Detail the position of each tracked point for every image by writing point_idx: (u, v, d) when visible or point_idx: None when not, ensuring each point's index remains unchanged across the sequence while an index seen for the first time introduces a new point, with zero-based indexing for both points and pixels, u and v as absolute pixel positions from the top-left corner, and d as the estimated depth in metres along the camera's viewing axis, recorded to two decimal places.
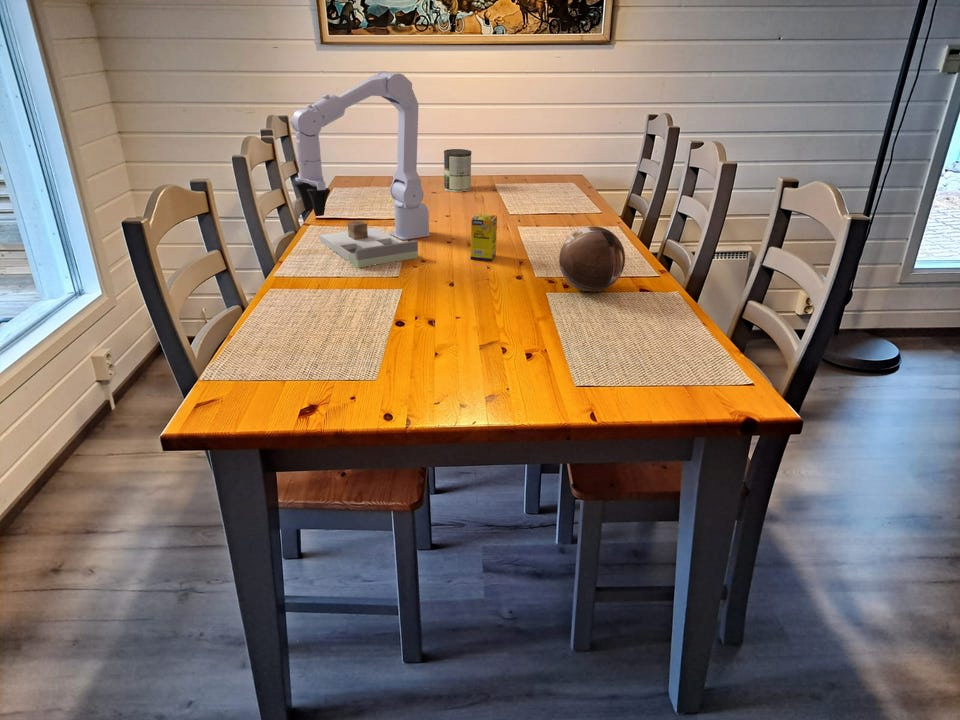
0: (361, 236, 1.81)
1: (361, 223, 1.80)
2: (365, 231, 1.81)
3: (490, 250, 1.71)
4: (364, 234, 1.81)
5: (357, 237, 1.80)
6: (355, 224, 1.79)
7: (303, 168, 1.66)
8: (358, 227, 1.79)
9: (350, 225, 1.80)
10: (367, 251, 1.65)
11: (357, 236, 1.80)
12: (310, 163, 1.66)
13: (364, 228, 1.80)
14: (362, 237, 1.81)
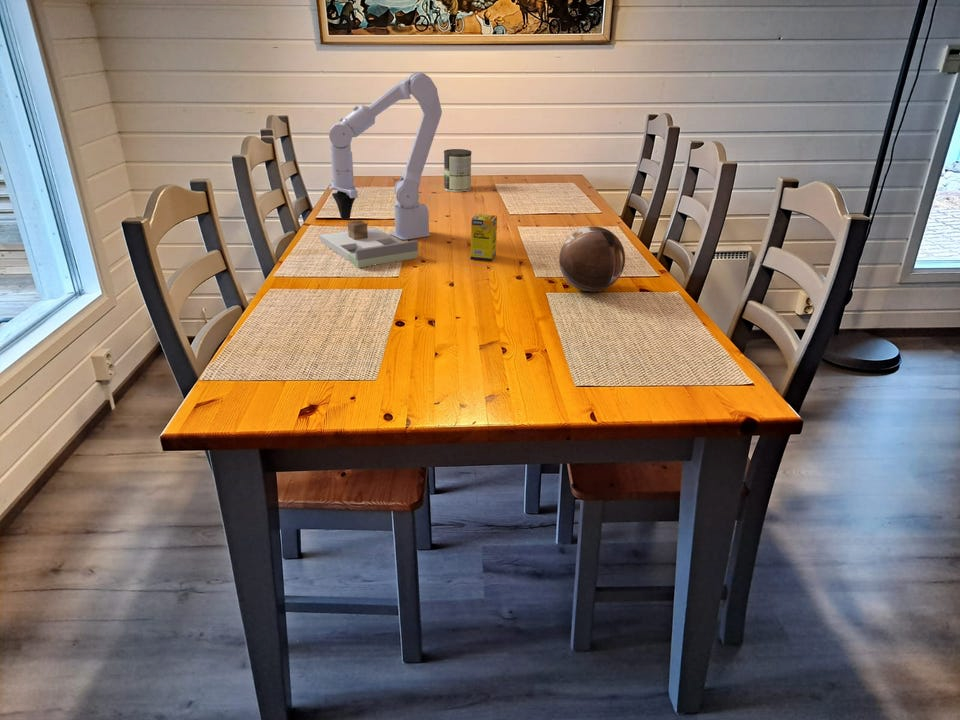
0: (361, 236, 1.81)
1: (361, 223, 1.80)
2: (365, 231, 1.81)
3: (490, 250, 1.71)
4: (364, 234, 1.81)
5: (357, 237, 1.80)
6: (355, 224, 1.79)
7: (337, 177, 1.79)
8: (358, 227, 1.79)
9: (350, 225, 1.80)
10: (367, 251, 1.65)
11: (357, 236, 1.80)
12: (343, 173, 1.78)
13: (364, 228, 1.80)
14: (362, 237, 1.81)
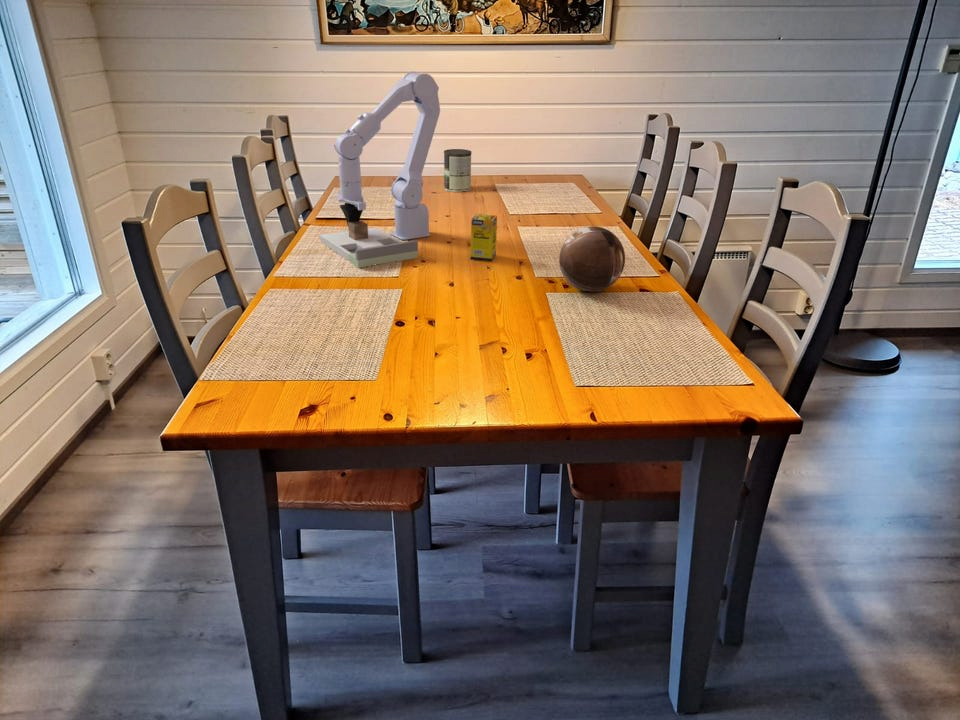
0: (361, 236, 1.80)
1: (362, 223, 1.80)
2: (365, 231, 1.80)
3: (490, 250, 1.71)
4: (364, 234, 1.81)
5: (357, 237, 1.80)
6: (355, 224, 1.79)
7: (345, 189, 1.76)
8: (358, 227, 1.79)
9: (350, 225, 1.80)
10: (367, 251, 1.65)
11: (357, 236, 1.80)
12: (351, 184, 1.76)
13: (364, 228, 1.80)
14: (362, 237, 1.81)
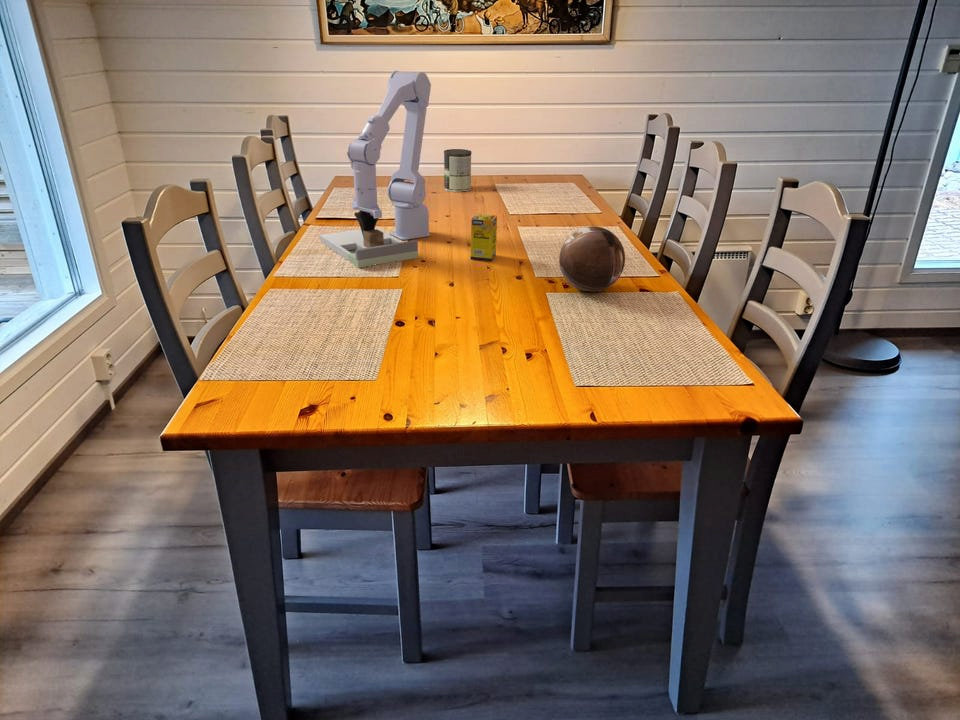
0: None
1: (377, 232, 1.73)
2: (381, 240, 1.73)
3: (490, 250, 1.71)
4: (380, 243, 1.73)
5: (373, 246, 1.72)
6: (371, 233, 1.72)
7: (360, 196, 1.69)
8: (374, 236, 1.72)
9: (366, 234, 1.72)
10: (367, 251, 1.65)
11: (373, 245, 1.72)
12: (367, 192, 1.68)
13: (380, 237, 1.73)
14: None
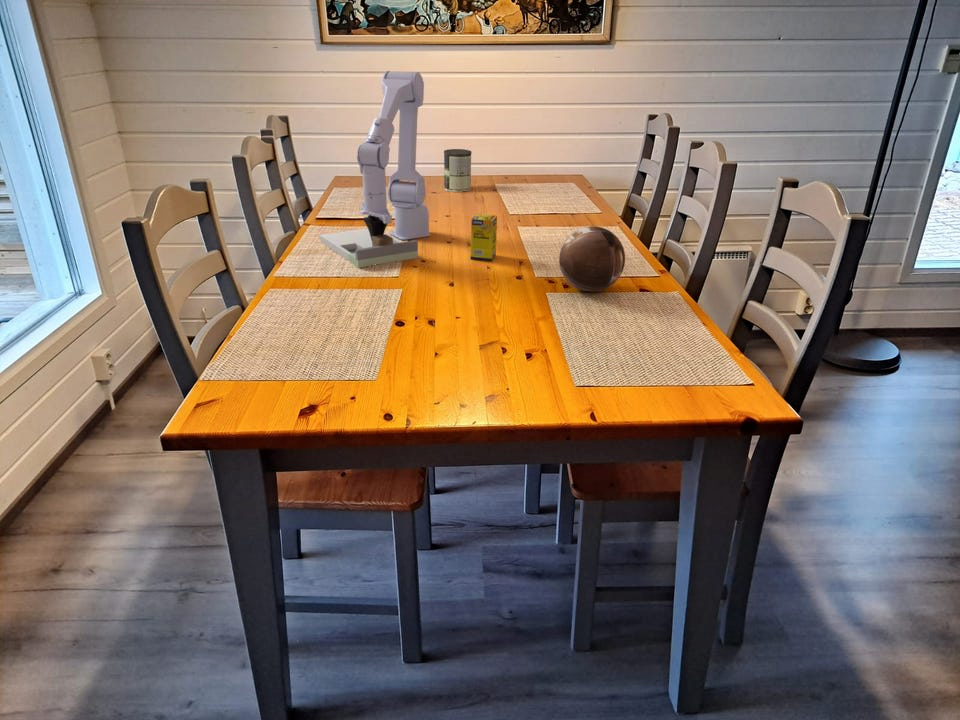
0: None
1: (386, 237, 1.69)
2: None
3: (490, 250, 1.71)
4: None
5: None
6: (380, 238, 1.68)
7: (369, 201, 1.65)
8: (383, 242, 1.67)
9: (375, 239, 1.68)
10: (367, 251, 1.65)
11: None
12: (376, 196, 1.64)
13: (390, 243, 1.69)
14: None
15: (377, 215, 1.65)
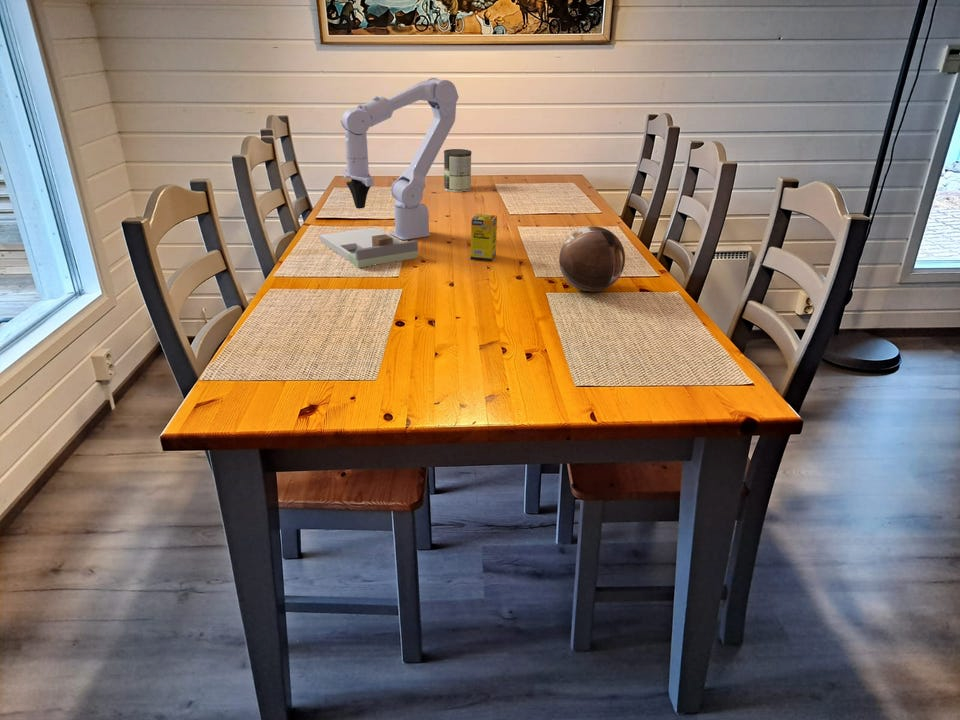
0: None
1: (386, 237, 1.69)
2: None
3: (490, 250, 1.71)
4: None
5: None
6: (380, 238, 1.68)
7: (352, 165, 1.74)
8: (383, 242, 1.67)
9: (375, 239, 1.68)
10: (367, 251, 1.65)
11: None
12: (358, 160, 1.74)
13: (390, 243, 1.69)
14: None
15: (359, 178, 1.74)
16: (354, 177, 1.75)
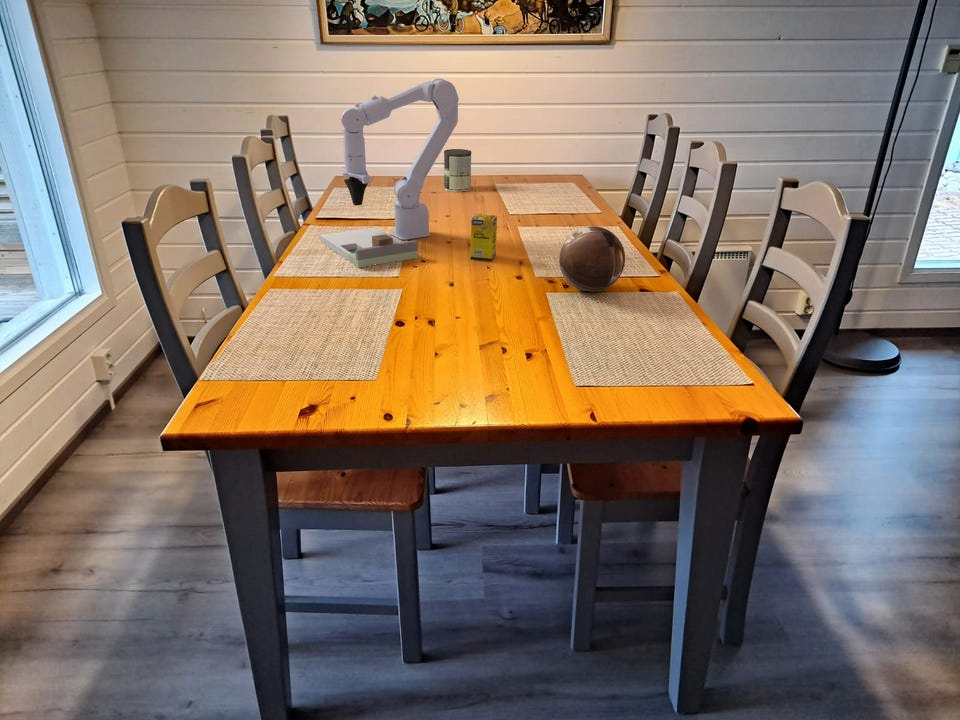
0: None
1: (386, 237, 1.69)
2: None
3: (490, 250, 1.71)
4: None
5: None
6: (380, 238, 1.68)
7: (349, 163, 1.77)
8: (383, 242, 1.67)
9: (375, 239, 1.68)
10: (367, 251, 1.65)
11: None
12: (356, 158, 1.77)
13: (390, 243, 1.69)
14: None
15: (356, 176, 1.77)
16: (351, 174, 1.78)
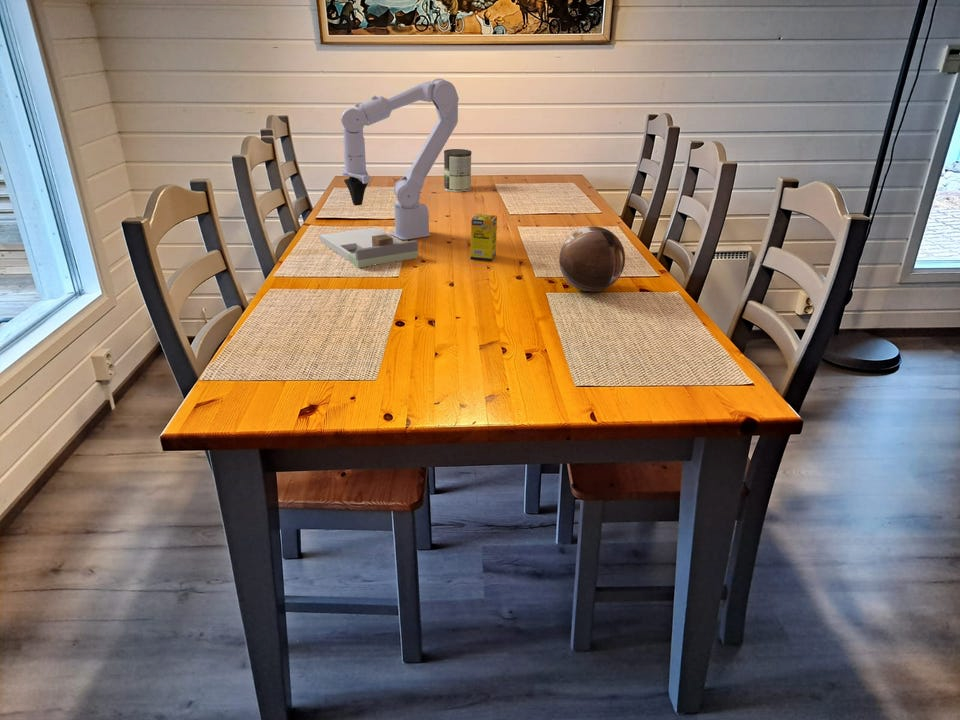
0: None
1: (386, 237, 1.69)
2: None
3: (490, 250, 1.71)
4: None
5: None
6: (380, 238, 1.68)
7: (349, 163, 1.77)
8: (383, 242, 1.67)
9: (375, 239, 1.68)
10: (367, 251, 1.65)
11: None
12: (356, 158, 1.77)
13: (390, 243, 1.69)
14: None
15: (356, 176, 1.77)
16: (351, 174, 1.78)
